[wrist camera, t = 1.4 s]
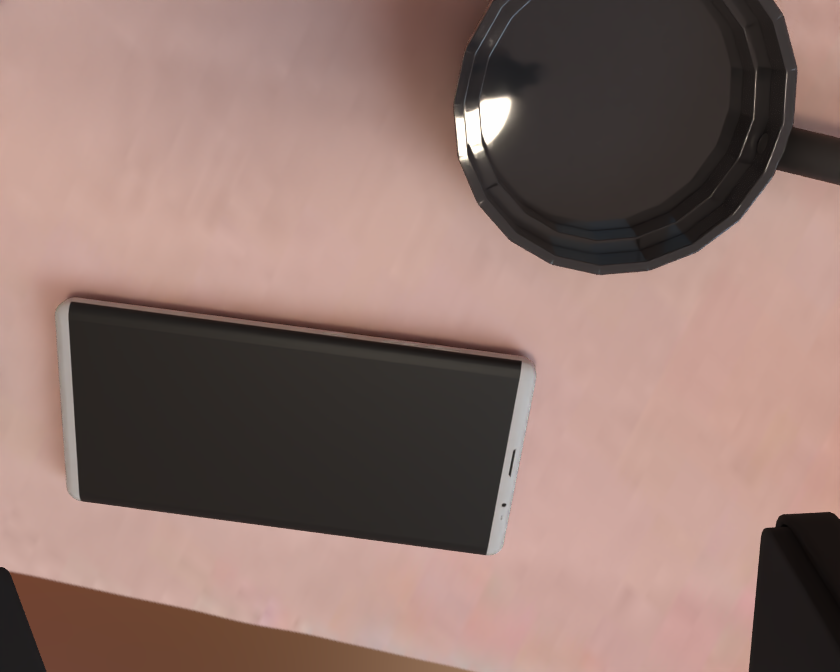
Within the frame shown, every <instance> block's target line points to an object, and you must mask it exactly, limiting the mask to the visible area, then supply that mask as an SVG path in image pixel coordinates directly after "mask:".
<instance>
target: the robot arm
mask: <svg viewBox="0 0 840 672" xmlns="http://www.w3.org/2000/svg"><path fill="white" fill-rule="evenodd" d="M0 672H46V669H45V666H44V664H43V661H42V658H41V656H40V653H39V650H38V648H37V645H36V642H35V639H34V637H33V634H32V631H31V629H30V626H29V623H28V621H27V618H26V615H25V612H24V610H23V607H22V604H21V602H20V599H19V596H18V594H17V591H16V588H15V585H14V583H13V580H12V577H11V575H10V573H9V571H8V570H6V569H5V568H3V567H0ZM749 672H840V519H839V518H838V517H837V516H836V515H835V514H833V513H831V512H821V513H802V514H783V515H781V516H779V518H778V520H777V522H776V527H775V528H765V529H764V530H763V532H762V535H761V543H760V554H759V565H758V576H757V587H756V598H755V609H754V620H753V631H752V642H751V653H750V664H749Z"/></svg>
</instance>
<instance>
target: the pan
mask: <svg viewBox="0 0 840 672" xmlns="http://www.w3.org/2000/svg"><path fill="white" fill-rule="evenodd" d="M796 83H797V65H796V61H795V57H794V53H793V49H792V46H791V42H790V38H789V34H788V30H787V26H786V23H785V19H784V16H783V13H782V12H781V11H780V9H779V8H778V6H777V5H776V3H775V2H774V0H491V1H490V3H489V5H488V6H487V8H486V10H485V12H484V14H483V15H482V17H481V19H480V21H479V22H478V24H477V26H476V28H475V30H474V31H473V33H472V35H471V37H470V38H469V40H468V42H467V44H466V47H465V50H464V54H463V59H462V64H461V68H460V73H459V77H458V82H457V86H456V91H455V96H454V103H453V109H454V120H455V132H456V143H457V154H458V159H459V161H460V164H461V166H462V168H463V171H464V173H465V176H466V178H467V180H468V183H469V185H470V187H471V190H472V192H473V194H474V197H475V199H476V201H477V203H478V205H479V206H480V207H481V208H482V209H483V211H484V212H485V213H486V214H487V215H488V216H489V217H490V219H491V220H492V221H493V222H494V223H495V224H496V225H497V226H498V228H499V229H500V230H501V231H502V232H503V233H504V234H505V236H506V237H507V238H508V239H509V240H510V241H512V242H513V243H515V244H517V245H519V246H520V247H522V248H524V249H525V250H527V251H529V252H531V253H532V254H534V255H536V256H537V257H539V258H541V259H543V260H544V261H546V262H548V263H549V264H552V265H555V266H560V267H564V268H569V269H574V270H578V271H583V272H587V273H592V274H596V275H605V274H617V273H629V272H641V271H648V270H652V269H655V268H658V267H660V266H663V265H665V264H668V263H670V262H673V261H676V260H678V259H681V258H683V257H686V256H689V255H691V254H694V253H696V252H698V251H699V250H701V249H702V248H703V247H705V246H706V245H707V244H709V243H710V242H711V241H713V240H714V239H715V238H717V237H718V236H719V235H721V234H722V233H723V232H725V231H726V230H727V229H729V228H730V227H731V226H733V225H734V224H735V223H737V222H738V221H739V220H740V219H741V218H742V217H743V215H744V214H745V213H746V212H747V210H748V209H749V208H750V206H751V205H752V204H753V202H754V201H755V200H756V198H757V197H758V196H759V195H760V193H761V192H762V191H763V189H764V188H765V187H766V185H767V184H768V183H769V182H770V180H771V179H772V178H773V176H774V173H775V171H776V168H777V166H778V163H779V161H780V158H781V155H782V153H783V150H784V148H785V145H786V143H787V140H788V137H789V135H790V132H791V130H792V127H793V123H794V111H795V97H796ZM765 133H767V134H768V141H767V145H766V147H765V149H764V151H763V152H762V153H761V154H758V151H757V148H758V143H759V140H760V139H761V137H762V135H763V134H765Z"/></svg>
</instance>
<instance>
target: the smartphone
mask: <svg viewBox="0 0 840 672" xmlns="http://www.w3.org/2000/svg"><path fill="white" fill-rule="evenodd" d="M55 324H56V338H57V353H58V368H59V382H60V397H61V412H62V426H63V441H64V455H65V470H66V485H67V491H68V493H69V494H70V495H71V496H72V497H73V498H74V499H76V500H79V501H84V502H91V503H99V504H106V505H114V506H121V507H129V508H136V509H144V510H151V511H159V512H166V513H174V514H181V515H189V516H196V517H204V518H211V519H219V520H226V521H234V522H241V523H249V524H256V525H264V526H271V527H279V528H286V529H294V530H301V531H309V532H316V533H324V534H331V535H339V536H346V537H354V538H361V539H369V540H376V541H384V542H391V543H398V544H406V545H413V546H421V547H428V548H436V549H443V550H451V551H458V552H466V553H473V554H481V555H494V554H496V553H498V552H499V551H500V550H501V549H502V547H503V544H504V539H505V534H506V529H507V524H508V519H509V514H510V508H511V503H512V498H513V493H514V488H515V483H516V478H517V473H518V468H519V463H520V458H521V453H522V447H523V442H524V437H525V432H526V427H527V422H528V417H529V412H530V407H531V402H532V397H533V392H534V387H535V381H536V371H535V366H534V364H533V363H532V362H531V360H529V359H528V358H526V357H523V356H517V355H509V354H502V353H494V352H486V351H479V350H471V349H464V348H456V347H449V346H441V345H433V344H426V343H418V342H411V341H403V340H396V339H388V338H380V337H373V336H365V335H358V334H350V333H342V332H335V331H327V330H320V329H312V328H305V327H297V326H289V325H282V324H274V323H267V322H259V321H251V320H244V319H236V318H229V317H221V316H214V315H206V314H198V313H191V312H183V311H176V310H168V309H161V308H153V307H145V306H138V305H130V304H123V303H115V302H107V301H100V300H92V299H85V298H77V297H73V298H69V299H67V300H65V301H64V302H62V303H61V304H60V305H59V306H58V307H57V309H56V311H55Z"/></svg>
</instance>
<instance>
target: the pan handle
mask: <svg viewBox="0 0 840 672" xmlns="http://www.w3.org/2000/svg"><path fill="white" fill-rule="evenodd" d="M767 141H768V134H767V133H765V134H763V135H762V137H761V139H760V140H759V143H758V148H757V151H758V154H761V153H762V152H763V151H764V149H765V147H766V145H767ZM776 170H780V171H784V172H788V173H792V174H796V175H800V176H805V177H809V178H813V179H817V180H821V181H825V182H829V183H833V184H837V185H840V138H837V137H833V136H828V135H824V134H820V133H816V132H812V131H807V130H803V129H799V128H795V127H792V130H791V132H790V135H789V137H788V140H787V143H786V145H785V148H784V150H783V153H782V155H781V158H780V161H779V163H778V166H777V168H776Z"/></svg>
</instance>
